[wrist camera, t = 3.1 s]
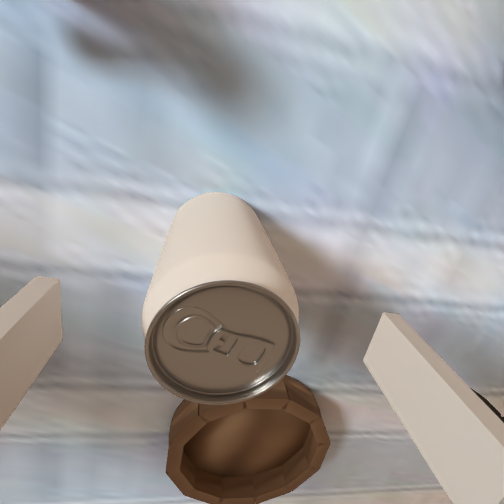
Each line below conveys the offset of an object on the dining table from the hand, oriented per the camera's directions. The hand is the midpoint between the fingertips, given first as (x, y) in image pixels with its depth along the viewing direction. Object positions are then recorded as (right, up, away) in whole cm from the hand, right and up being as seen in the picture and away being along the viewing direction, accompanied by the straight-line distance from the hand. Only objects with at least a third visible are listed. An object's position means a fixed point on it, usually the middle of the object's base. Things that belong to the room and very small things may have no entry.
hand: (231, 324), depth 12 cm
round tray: (0, -15, +18) cm, 23 cm away
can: (-2, +4, +9) cm, 11 cm away
